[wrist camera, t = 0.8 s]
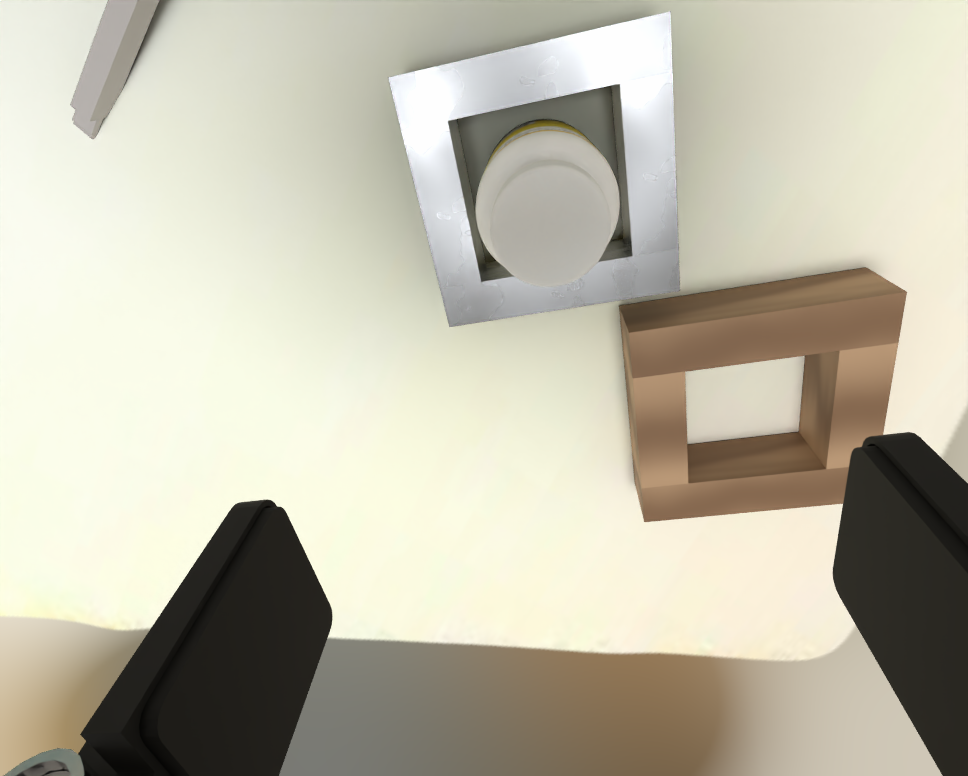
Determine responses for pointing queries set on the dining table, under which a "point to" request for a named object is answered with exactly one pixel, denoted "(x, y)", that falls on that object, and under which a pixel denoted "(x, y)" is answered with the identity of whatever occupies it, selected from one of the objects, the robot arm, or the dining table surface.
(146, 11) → the caliper
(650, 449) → the block
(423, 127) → the socket block
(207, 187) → the dining table surface
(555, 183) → the supplement bottle
